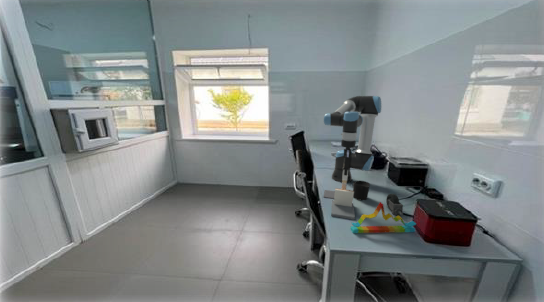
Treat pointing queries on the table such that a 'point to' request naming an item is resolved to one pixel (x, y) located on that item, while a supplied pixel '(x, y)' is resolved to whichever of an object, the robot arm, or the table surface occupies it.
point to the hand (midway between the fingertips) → (344, 179)
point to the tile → (343, 197)
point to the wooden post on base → (343, 185)
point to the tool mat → (329, 194)
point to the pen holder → (360, 190)
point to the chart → (381, 229)
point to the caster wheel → (394, 204)
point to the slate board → (343, 211)
